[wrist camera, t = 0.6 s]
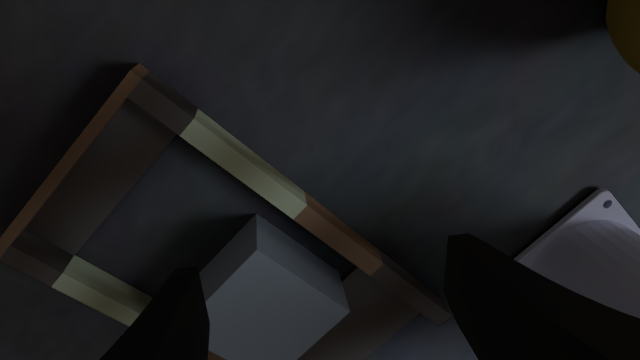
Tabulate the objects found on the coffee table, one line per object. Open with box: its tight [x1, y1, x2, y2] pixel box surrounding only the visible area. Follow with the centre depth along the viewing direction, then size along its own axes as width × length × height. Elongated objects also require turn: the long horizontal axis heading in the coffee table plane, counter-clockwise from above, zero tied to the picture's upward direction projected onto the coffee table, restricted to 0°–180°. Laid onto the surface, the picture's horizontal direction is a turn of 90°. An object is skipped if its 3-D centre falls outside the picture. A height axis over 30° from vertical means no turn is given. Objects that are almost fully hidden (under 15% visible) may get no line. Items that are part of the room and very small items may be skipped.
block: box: [199, 213, 350, 360], centre depth 23 cm, size 6×6×4 cm
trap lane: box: [0, 63, 452, 360], centre depth 23 cm, size 21×11×2 cm, turn 46°
